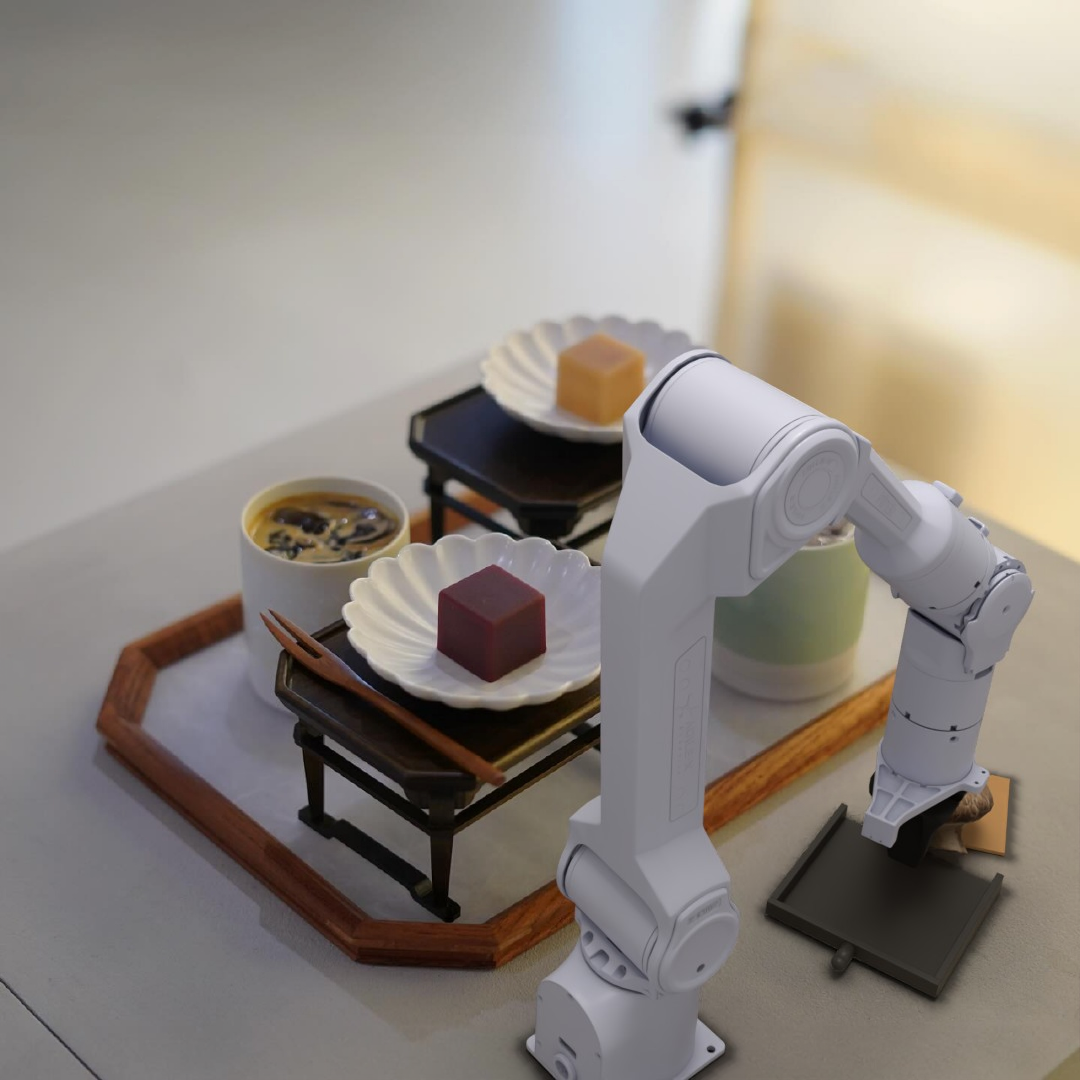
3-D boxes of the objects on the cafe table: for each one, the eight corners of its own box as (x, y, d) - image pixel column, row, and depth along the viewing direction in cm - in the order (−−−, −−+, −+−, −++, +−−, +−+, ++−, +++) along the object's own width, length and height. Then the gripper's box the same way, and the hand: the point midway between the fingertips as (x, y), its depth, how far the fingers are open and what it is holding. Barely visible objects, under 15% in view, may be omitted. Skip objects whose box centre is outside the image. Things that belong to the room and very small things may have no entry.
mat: (1004, 856, 106) (1004, 853, 106) (888, 830, 108) (889, 827, 108) (1009, 781, 113) (1010, 778, 112) (900, 758, 114) (900, 755, 114)
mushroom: (1001, 860, 100) (980, 767, 101) (881, 876, 103) (861, 785, 103) (1006, 836, 108) (987, 749, 108) (894, 852, 111) (876, 767, 111)
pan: (838, 818, 109) (841, 802, 108) (1000, 891, 103) (1004, 875, 102) (749, 936, 100) (752, 919, 99) (921, 1023, 94) (925, 1006, 93)
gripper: (954, 792, 88) (917, 951, 96) (1039, 667, 98) (1000, 820, 106) (843, 745, 92) (816, 902, 99) (936, 628, 102) (905, 779, 109)
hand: (904, 857), depth 103 cm, fingers closed
